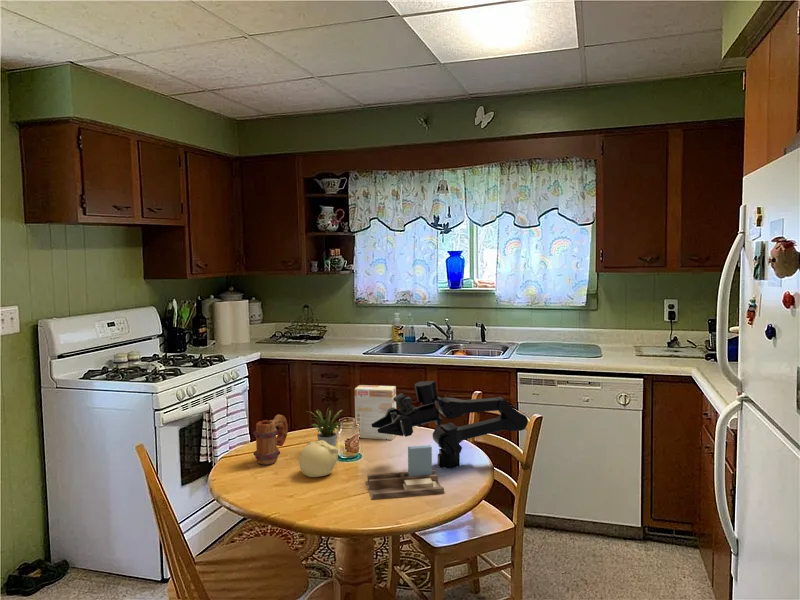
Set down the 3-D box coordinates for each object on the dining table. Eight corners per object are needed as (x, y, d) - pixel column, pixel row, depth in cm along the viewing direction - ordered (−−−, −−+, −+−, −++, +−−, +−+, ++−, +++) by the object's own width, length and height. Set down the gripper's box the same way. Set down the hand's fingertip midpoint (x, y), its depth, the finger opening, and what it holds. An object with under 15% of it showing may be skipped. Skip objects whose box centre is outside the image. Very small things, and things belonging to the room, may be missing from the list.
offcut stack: (435, 485, 185) (435, 477, 185) (438, 490, 181) (438, 482, 181) (403, 487, 184) (402, 480, 183) (405, 493, 179) (405, 485, 179)
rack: (434, 478, 193) (434, 468, 193) (445, 496, 179) (445, 484, 179) (365, 484, 189) (365, 473, 189) (371, 502, 176) (371, 490, 175)
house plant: (300, 458, 213) (298, 412, 212) (307, 445, 227) (306, 402, 225) (340, 458, 212) (339, 412, 211) (346, 445, 226) (345, 402, 225)
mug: (265, 469, 203) (264, 424, 202) (248, 464, 208) (246, 421, 206) (295, 456, 216) (294, 414, 214) (278, 452, 220) (277, 411, 219)
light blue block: (430, 479, 190) (430, 445, 189) (431, 482, 188) (431, 447, 187) (408, 481, 188) (408, 446, 188) (409, 483, 187) (409, 448, 186)
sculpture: (343, 471, 200) (342, 439, 199) (319, 483, 190) (318, 449, 189) (317, 464, 207) (316, 433, 206) (292, 476, 197) (291, 443, 196)
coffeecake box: (397, 434, 239) (396, 385, 237) (392, 440, 232) (392, 390, 230) (360, 432, 242) (359, 384, 241) (355, 438, 235) (354, 388, 234)
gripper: (407, 387, 207) (363, 399, 203) (423, 395, 189) (375, 408, 185) (414, 419, 207) (370, 432, 203) (431, 430, 189) (383, 443, 185)
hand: (374, 428), depth 194 cm, fingers open, 9 cm apart
